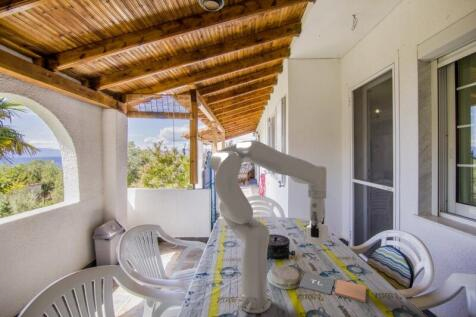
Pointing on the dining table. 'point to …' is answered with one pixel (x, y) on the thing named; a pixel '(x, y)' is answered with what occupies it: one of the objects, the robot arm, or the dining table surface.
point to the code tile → (317, 283)
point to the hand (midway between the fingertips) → (316, 234)
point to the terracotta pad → (351, 290)
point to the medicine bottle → (322, 234)
